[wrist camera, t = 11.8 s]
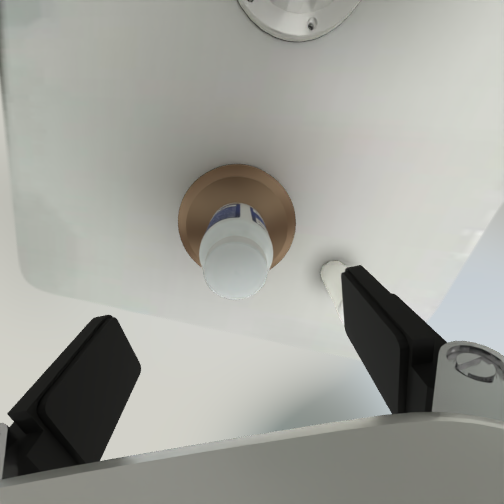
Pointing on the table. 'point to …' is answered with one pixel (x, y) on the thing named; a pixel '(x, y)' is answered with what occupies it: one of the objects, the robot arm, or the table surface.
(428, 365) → the robot arm
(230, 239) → the pill bottle
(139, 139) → the table surface
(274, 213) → the walnut stand
